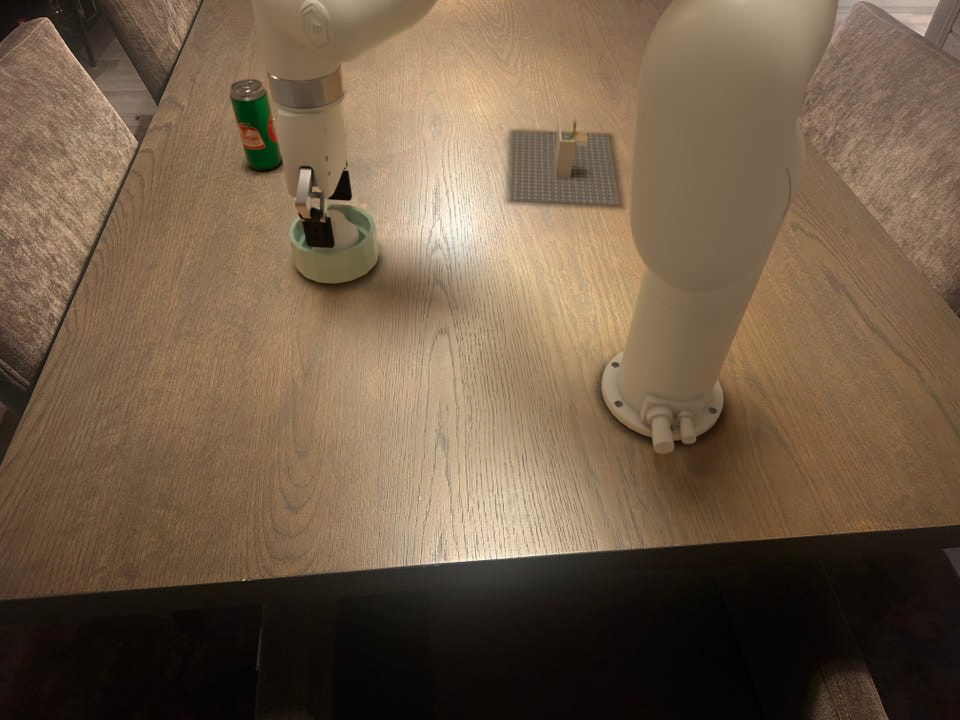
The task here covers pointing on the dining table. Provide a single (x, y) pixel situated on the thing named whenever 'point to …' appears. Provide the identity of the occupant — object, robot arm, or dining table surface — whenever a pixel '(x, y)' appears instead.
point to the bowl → (341, 262)
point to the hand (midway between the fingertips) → (330, 221)
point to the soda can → (255, 124)
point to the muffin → (341, 232)
